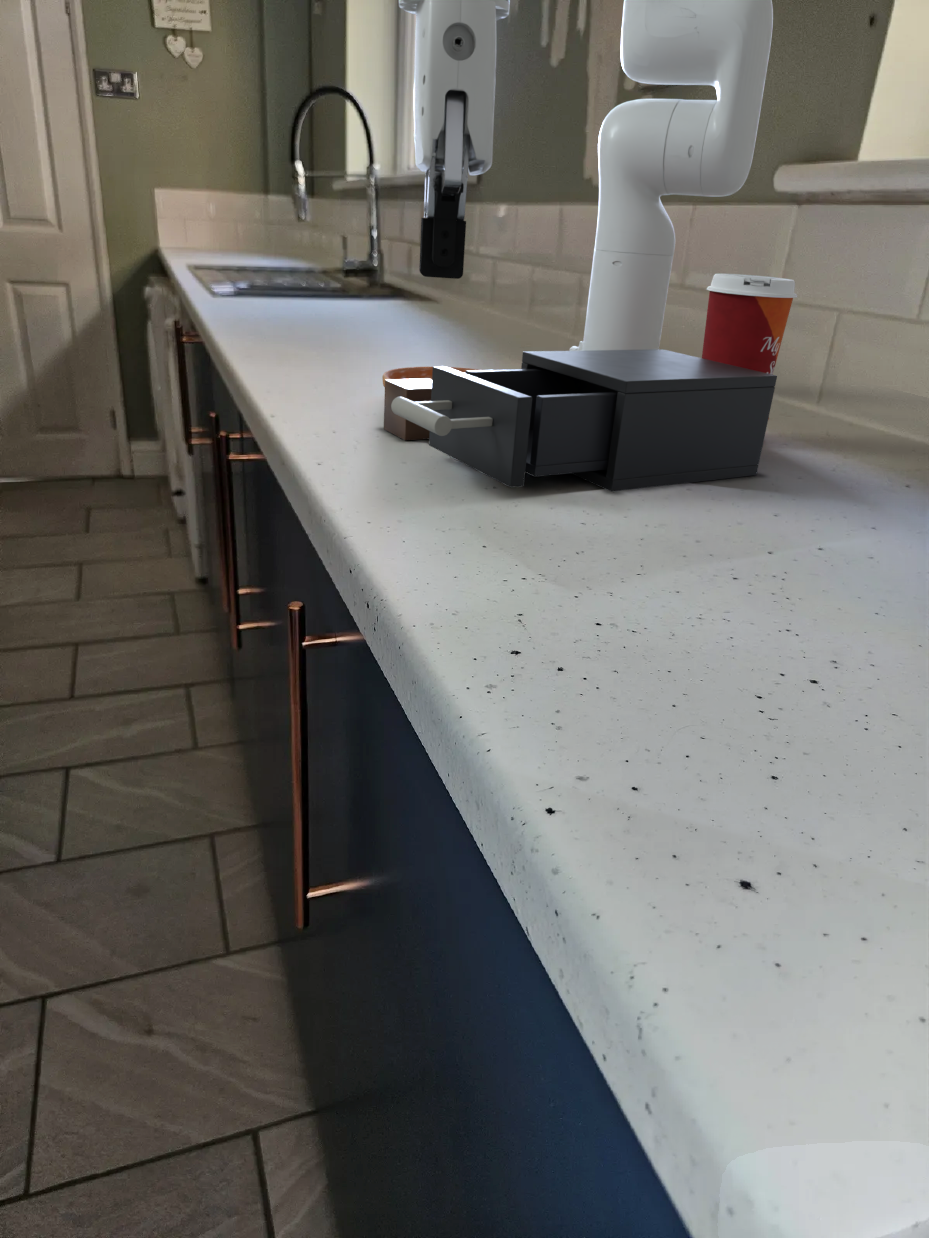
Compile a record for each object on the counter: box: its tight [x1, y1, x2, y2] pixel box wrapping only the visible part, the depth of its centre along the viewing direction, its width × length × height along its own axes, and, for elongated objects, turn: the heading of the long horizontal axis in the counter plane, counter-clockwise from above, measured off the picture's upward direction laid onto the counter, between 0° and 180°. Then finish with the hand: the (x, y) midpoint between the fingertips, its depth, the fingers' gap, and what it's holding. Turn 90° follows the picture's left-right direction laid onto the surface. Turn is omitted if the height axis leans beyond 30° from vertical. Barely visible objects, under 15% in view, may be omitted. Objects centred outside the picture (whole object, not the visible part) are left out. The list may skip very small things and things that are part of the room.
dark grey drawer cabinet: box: [520, 348, 778, 492], centre depth 74 cm, size 16×14×8 cm
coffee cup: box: [701, 273, 798, 375], centre depth 84 cm, size 8×8×15 cm
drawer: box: [391, 365, 619, 488], centre depth 68 cm, size 20×13×6 cm, turn 120°
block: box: [383, 379, 432, 442], centre depth 79 cm, size 4×4×4 cm
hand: (440, 276), depth 66 cm, fingers closed
